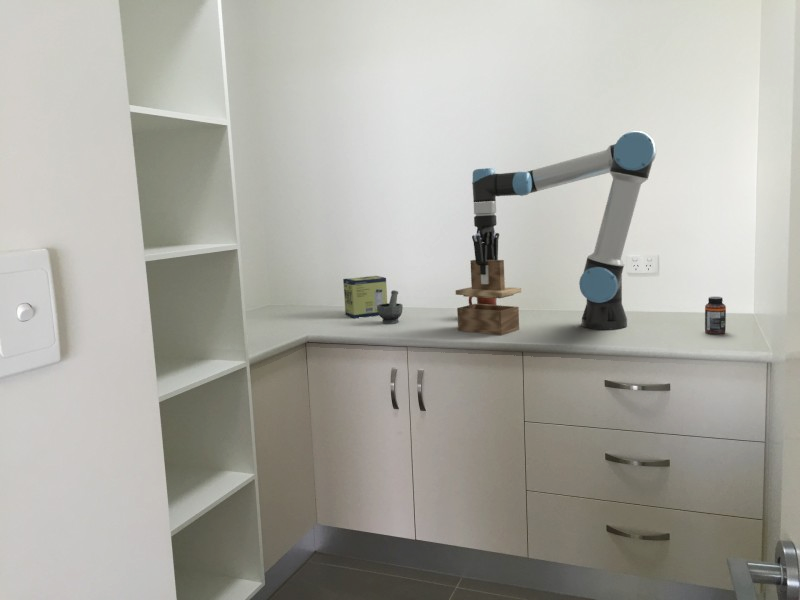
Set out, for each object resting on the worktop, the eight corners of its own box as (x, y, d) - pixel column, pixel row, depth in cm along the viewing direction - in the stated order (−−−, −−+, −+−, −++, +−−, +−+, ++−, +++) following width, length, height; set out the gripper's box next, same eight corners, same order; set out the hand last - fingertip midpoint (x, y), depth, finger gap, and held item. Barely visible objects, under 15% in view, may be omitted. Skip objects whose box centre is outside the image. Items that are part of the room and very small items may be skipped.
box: (519, 329, 233) (518, 306, 232) (501, 335, 225) (501, 311, 224) (476, 325, 245) (475, 303, 244) (458, 330, 237) (457, 308, 236)
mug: (491, 315, 265) (490, 289, 264) (503, 318, 257) (502, 291, 256) (464, 318, 261) (463, 292, 259) (475, 321, 253) (474, 294, 251)
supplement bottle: (707, 330, 217) (708, 295, 215) (727, 331, 213) (728, 296, 212) (702, 333, 212) (702, 298, 211) (722, 335, 209) (723, 299, 207)
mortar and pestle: (396, 325, 253) (394, 293, 251) (373, 324, 257) (372, 293, 255) (408, 320, 263) (407, 289, 261) (386, 319, 267) (385, 289, 265)
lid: (521, 294, 231) (520, 258, 230) (502, 299, 222) (500, 262, 221) (475, 292, 244) (474, 258, 242) (455, 296, 235) (454, 261, 233)
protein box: (344, 315, 282) (342, 278, 280) (378, 311, 289) (376, 275, 287) (353, 318, 273) (351, 280, 271) (388, 314, 279) (386, 277, 277)
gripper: (488, 214, 238) (491, 280, 241) (462, 216, 226) (465, 285, 229) (506, 213, 233) (509, 281, 236) (481, 215, 221) (484, 286, 224)
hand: (487, 283), depth 233 cm, fingers closed on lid, 2 cm apart
